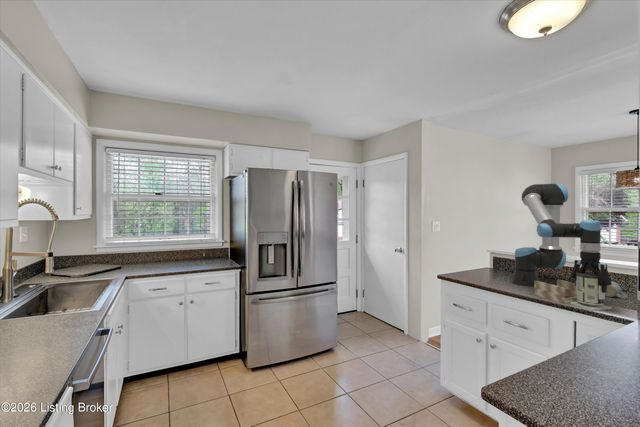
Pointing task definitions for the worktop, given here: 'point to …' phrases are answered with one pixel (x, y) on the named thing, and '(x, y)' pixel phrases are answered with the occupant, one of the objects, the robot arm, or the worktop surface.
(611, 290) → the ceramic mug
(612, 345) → the worktop surface
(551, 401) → the worktop surface
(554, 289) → the access box
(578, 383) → the worktop surface
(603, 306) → the trivet
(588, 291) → the coffee can
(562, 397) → the worktop surface
